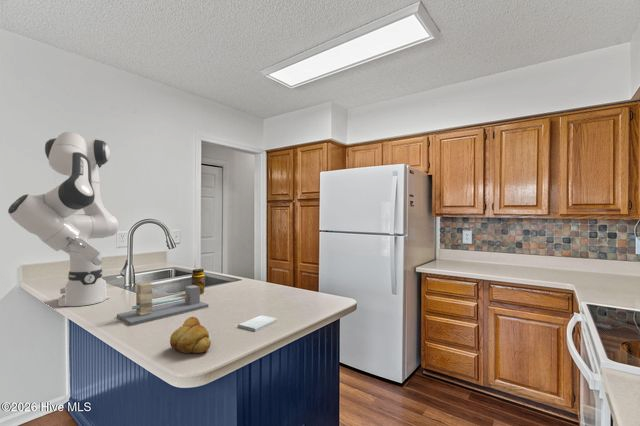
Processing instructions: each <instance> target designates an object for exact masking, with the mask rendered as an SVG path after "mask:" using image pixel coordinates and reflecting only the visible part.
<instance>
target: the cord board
mask: <svg viewBox="0 0 640 426" xmlns="http://www.w3.org/2000/svg"><path fill="white" fill-rule="evenodd" d="M184 287H185V288H184V295H183V296H179V297H174V298H169V299H164V300H158V301H154V302H153V301H152V313H149V314H144V315H139V314H137V313H136V309H139V308H140V305H137V306H136V305H134V306H133V305H132V307H131V309H132V310H129V311H125V312H120V313H117V314H116V318H118V319H119V320H121V321H122V322H124V323H125V324H127V325H128V326H130V327H132V326H136V325H140V324H144V323H148V322H153V321H157V320H160V319H165V318H170V317H172V316H179V315H181V314H186V313H189V312H194V311H197V310H198V311H199V310H202V309H207V308H209V303H207V302H203V301H200V300H201V299H200V298H201V297H200V296H201V295H200V287H199V286H195V285H192V284H191V285H187V286H184Z"/></svg>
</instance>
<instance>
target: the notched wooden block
mask: <svg viewBox="0 0 640 426" xmlns="http://www.w3.org/2000/svg"><path fill="white" fill-rule="evenodd" d="M135 287H136V289H135V291H136V292H135V297H136V299H135V302H136V304H135V306H137V305H140V308H139V309H135V310H136V313H137V314H139V315H144V314H149V313H152V307H153V306H152V302H153V283H150V282H146V281H145V282H140V283H136V284H135Z"/></svg>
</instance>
